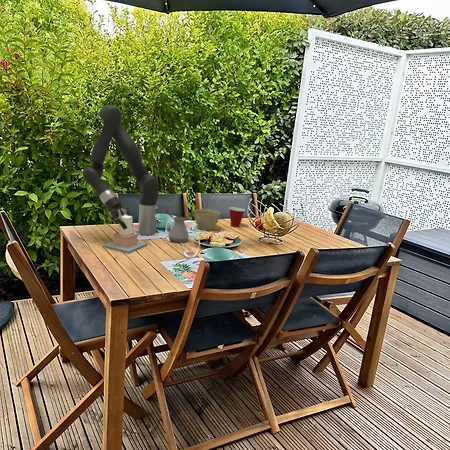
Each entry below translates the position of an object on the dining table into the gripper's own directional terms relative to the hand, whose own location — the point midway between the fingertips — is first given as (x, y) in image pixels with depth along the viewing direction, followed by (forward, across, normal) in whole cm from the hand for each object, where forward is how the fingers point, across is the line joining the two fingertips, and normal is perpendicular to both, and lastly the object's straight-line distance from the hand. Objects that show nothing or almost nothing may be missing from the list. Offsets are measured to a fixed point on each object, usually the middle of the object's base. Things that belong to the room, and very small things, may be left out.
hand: (128, 227), depth 206 cm
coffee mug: (-4, +47, +20) cm, 51 cm away
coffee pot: (+14, +29, 0) cm, 32 cm away
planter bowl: (+19, +59, -4) cm, 62 cm away
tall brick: (+2, 0, +4) cm, 5 cm away
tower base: (+6, 0, +9) cm, 11 cm away
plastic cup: (+27, +78, -13) cm, 83 cm away
